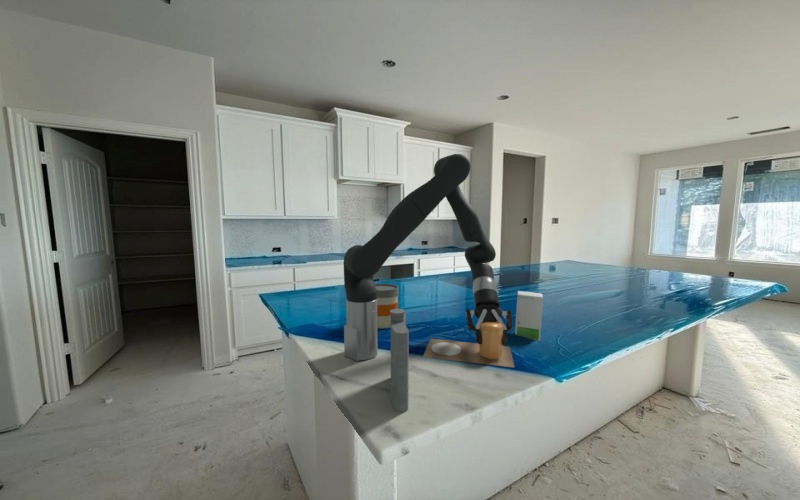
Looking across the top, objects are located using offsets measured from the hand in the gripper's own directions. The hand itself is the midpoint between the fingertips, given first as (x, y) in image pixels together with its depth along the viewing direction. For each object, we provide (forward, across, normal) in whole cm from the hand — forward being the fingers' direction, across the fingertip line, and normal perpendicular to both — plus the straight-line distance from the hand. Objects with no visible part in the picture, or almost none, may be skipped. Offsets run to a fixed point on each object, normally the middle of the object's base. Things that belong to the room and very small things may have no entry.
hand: (492, 343), depth 88 cm
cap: (+2, 0, +4) cm, 4 cm away
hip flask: (+17, -26, -9) cm, 32 cm away
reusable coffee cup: (-16, -36, +24) cm, 46 cm away
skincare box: (-10, +17, +18) cm, 27 cm away
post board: (+2, -6, +6) cm, 9 cm away
